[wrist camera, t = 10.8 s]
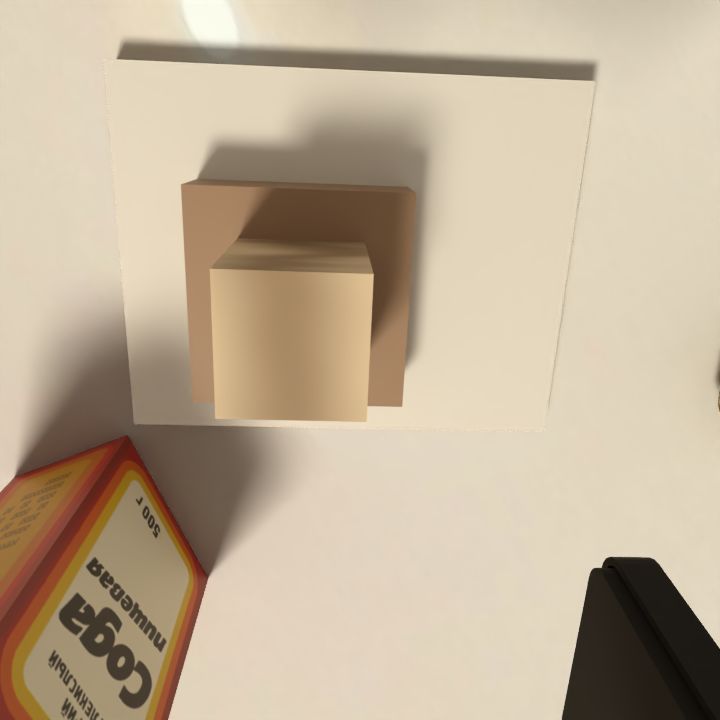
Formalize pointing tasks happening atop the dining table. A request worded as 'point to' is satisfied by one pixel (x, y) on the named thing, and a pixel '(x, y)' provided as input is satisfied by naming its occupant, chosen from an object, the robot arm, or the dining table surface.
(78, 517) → the baking soda box
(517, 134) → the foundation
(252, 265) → the oak block
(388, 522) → the dining table surface
